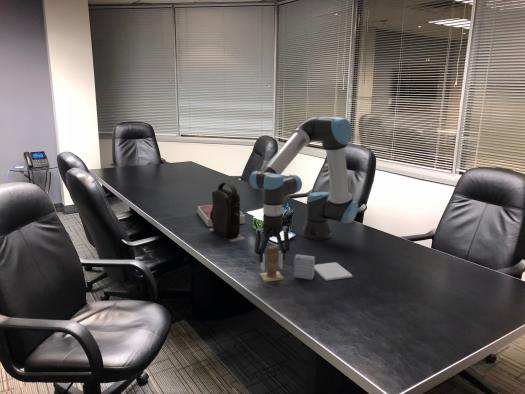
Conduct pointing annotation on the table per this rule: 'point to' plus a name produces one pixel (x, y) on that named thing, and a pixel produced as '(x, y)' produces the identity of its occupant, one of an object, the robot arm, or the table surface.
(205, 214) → the product packaging
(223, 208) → the shoulder bag
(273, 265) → the wooden stamp
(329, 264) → the mat
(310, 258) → the medicine box
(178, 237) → the table surface
